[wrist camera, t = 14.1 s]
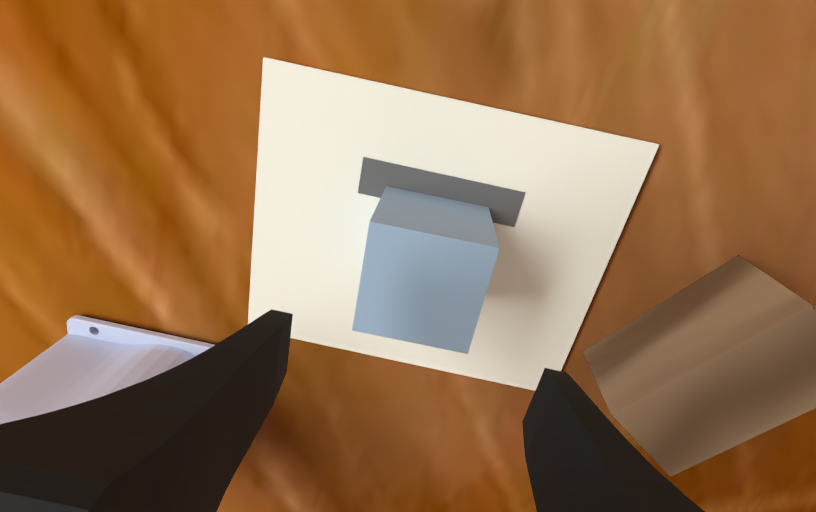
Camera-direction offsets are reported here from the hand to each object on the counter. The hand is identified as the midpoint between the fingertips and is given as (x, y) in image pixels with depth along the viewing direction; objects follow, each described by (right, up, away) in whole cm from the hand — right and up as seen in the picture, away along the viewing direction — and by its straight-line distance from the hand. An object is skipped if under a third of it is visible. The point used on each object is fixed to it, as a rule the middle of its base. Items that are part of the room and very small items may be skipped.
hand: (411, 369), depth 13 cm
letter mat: (+1, +4, +8) cm, 9 cm away
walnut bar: (+13, -1, +9) cm, 16 cm away
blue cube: (+1, +4, +8) cm, 9 cm away
